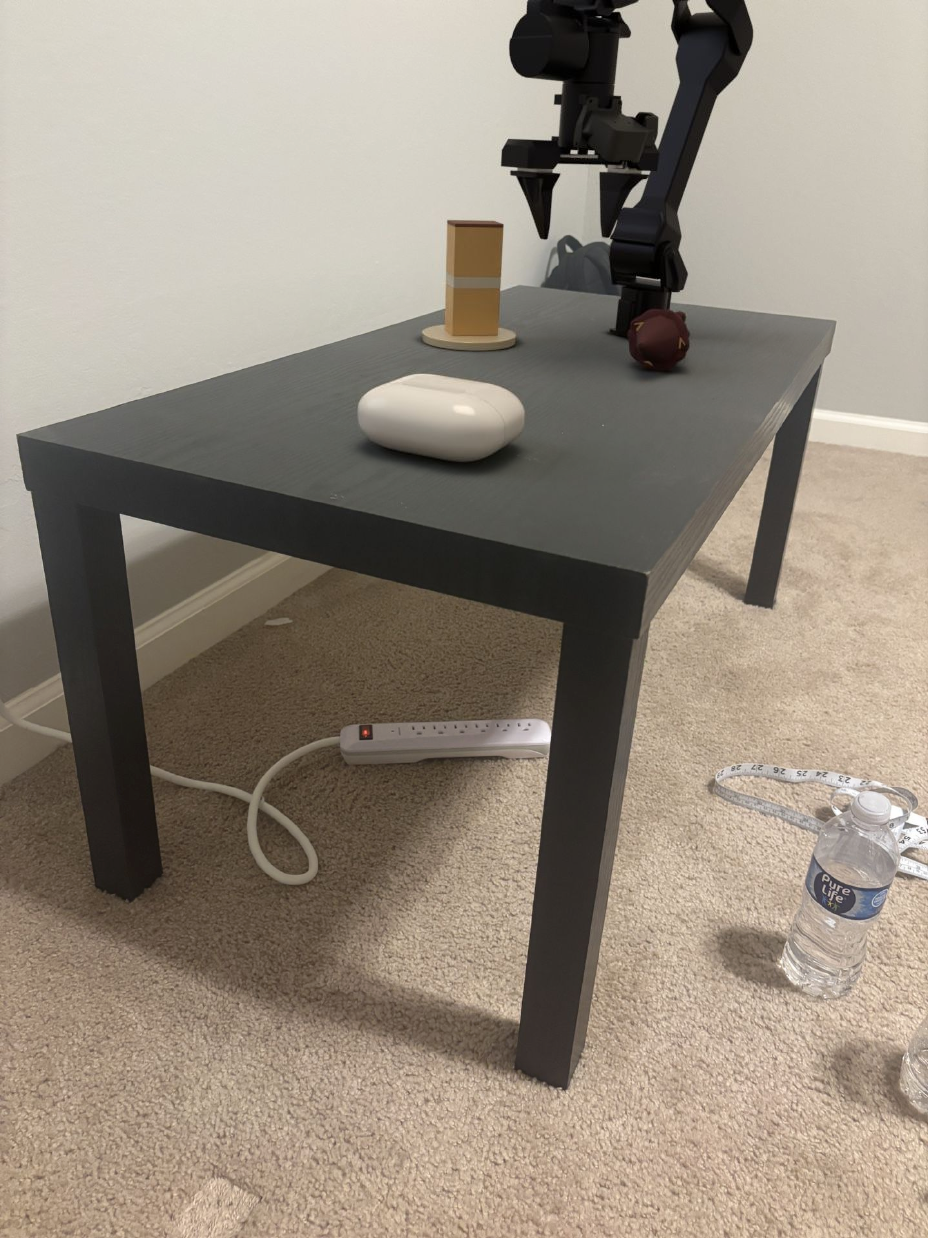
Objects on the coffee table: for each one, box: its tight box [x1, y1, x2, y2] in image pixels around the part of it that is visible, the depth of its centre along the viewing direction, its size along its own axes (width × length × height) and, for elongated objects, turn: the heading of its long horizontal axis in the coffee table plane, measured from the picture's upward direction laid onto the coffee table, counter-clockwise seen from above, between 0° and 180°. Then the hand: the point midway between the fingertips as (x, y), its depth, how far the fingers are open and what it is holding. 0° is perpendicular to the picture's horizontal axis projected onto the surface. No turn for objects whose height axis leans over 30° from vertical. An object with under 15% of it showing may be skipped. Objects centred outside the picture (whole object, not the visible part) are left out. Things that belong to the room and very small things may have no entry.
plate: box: [421, 324, 517, 352], centre depth 116 cm, size 12×12×1 cm
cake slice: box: [444, 219, 505, 336], centre depth 113 cm, size 6×4×13 cm
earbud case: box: [356, 373, 526, 463], centre depth 75 cm, size 10×13×5 cm
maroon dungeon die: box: [627, 309, 691, 372], centre depth 104 cm, size 7×7×15 cm
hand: (575, 238), depth 106 cm, fingers open, 9 cm apart
